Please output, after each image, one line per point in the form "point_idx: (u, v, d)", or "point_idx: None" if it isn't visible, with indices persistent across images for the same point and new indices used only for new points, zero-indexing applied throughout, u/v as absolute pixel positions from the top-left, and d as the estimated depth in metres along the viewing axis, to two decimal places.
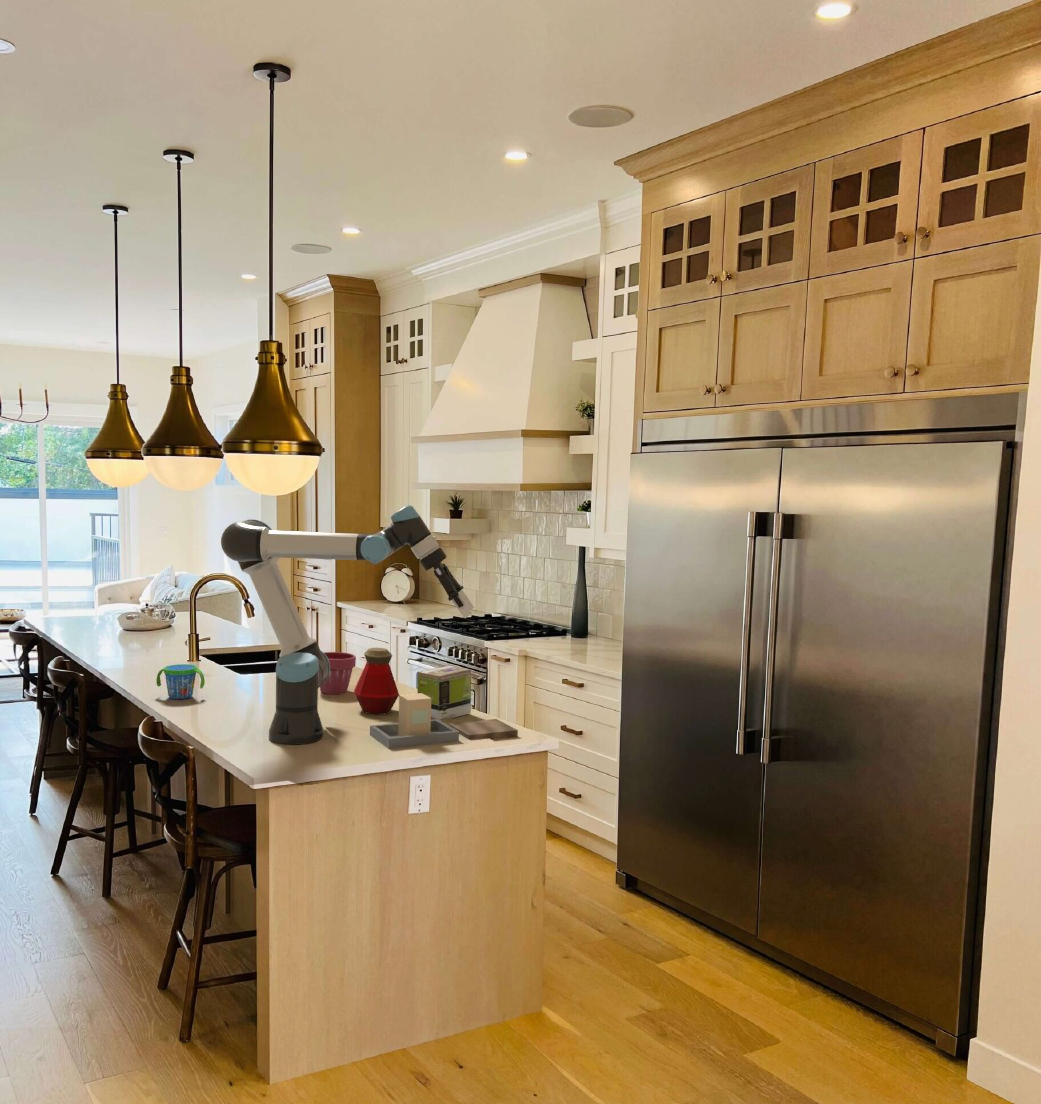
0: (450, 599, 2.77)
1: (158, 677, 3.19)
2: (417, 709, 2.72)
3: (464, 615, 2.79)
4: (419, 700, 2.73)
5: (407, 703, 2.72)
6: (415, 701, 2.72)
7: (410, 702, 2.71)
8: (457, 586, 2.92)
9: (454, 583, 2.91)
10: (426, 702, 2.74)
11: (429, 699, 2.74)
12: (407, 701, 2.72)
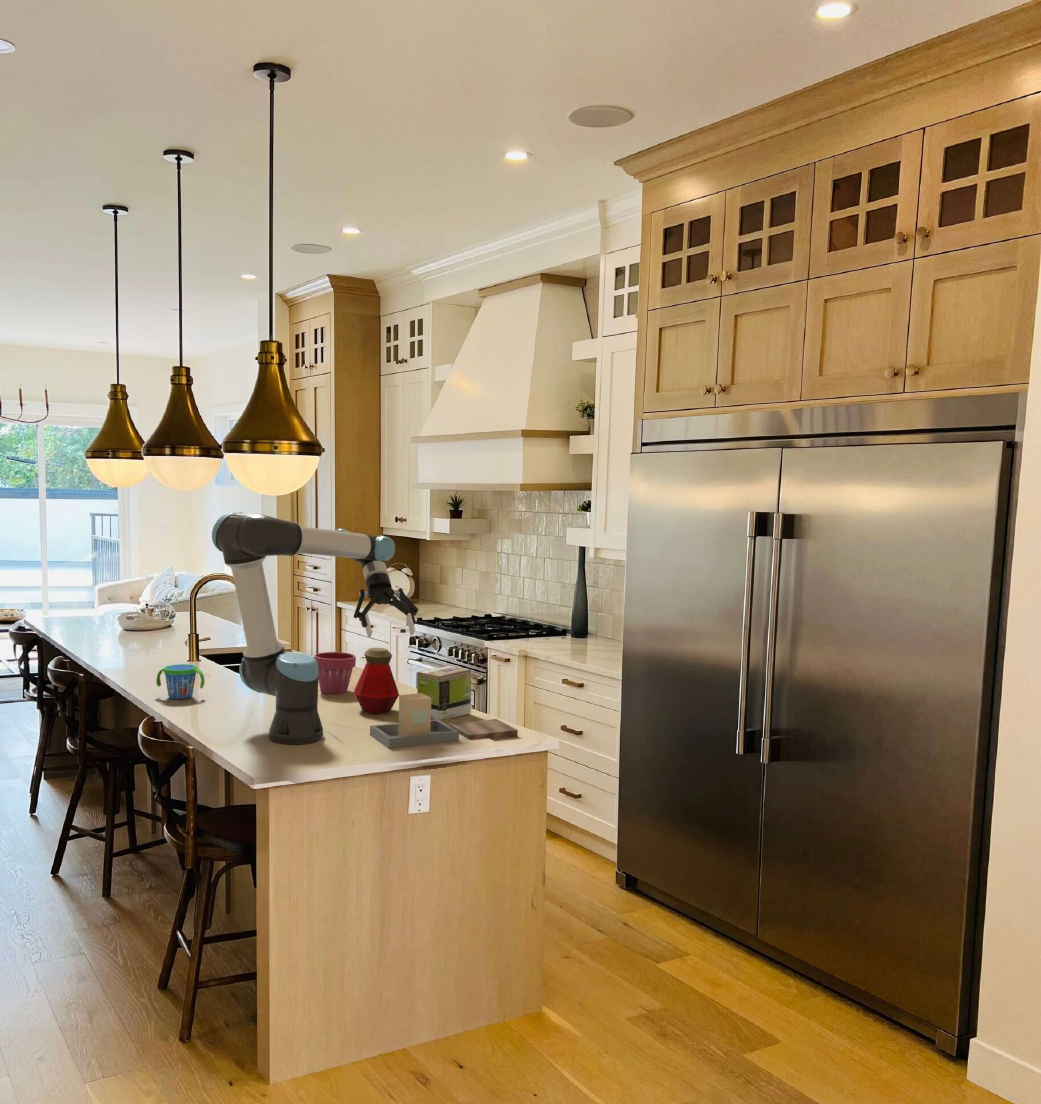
0: (413, 611, 2.99)
1: (158, 677, 3.19)
2: (417, 709, 2.72)
3: None
4: (419, 700, 2.73)
5: (407, 703, 2.72)
6: (415, 701, 2.72)
7: (410, 702, 2.71)
8: (366, 614, 2.94)
9: (368, 610, 2.96)
10: (426, 702, 2.74)
11: (429, 699, 2.74)
12: (407, 701, 2.72)
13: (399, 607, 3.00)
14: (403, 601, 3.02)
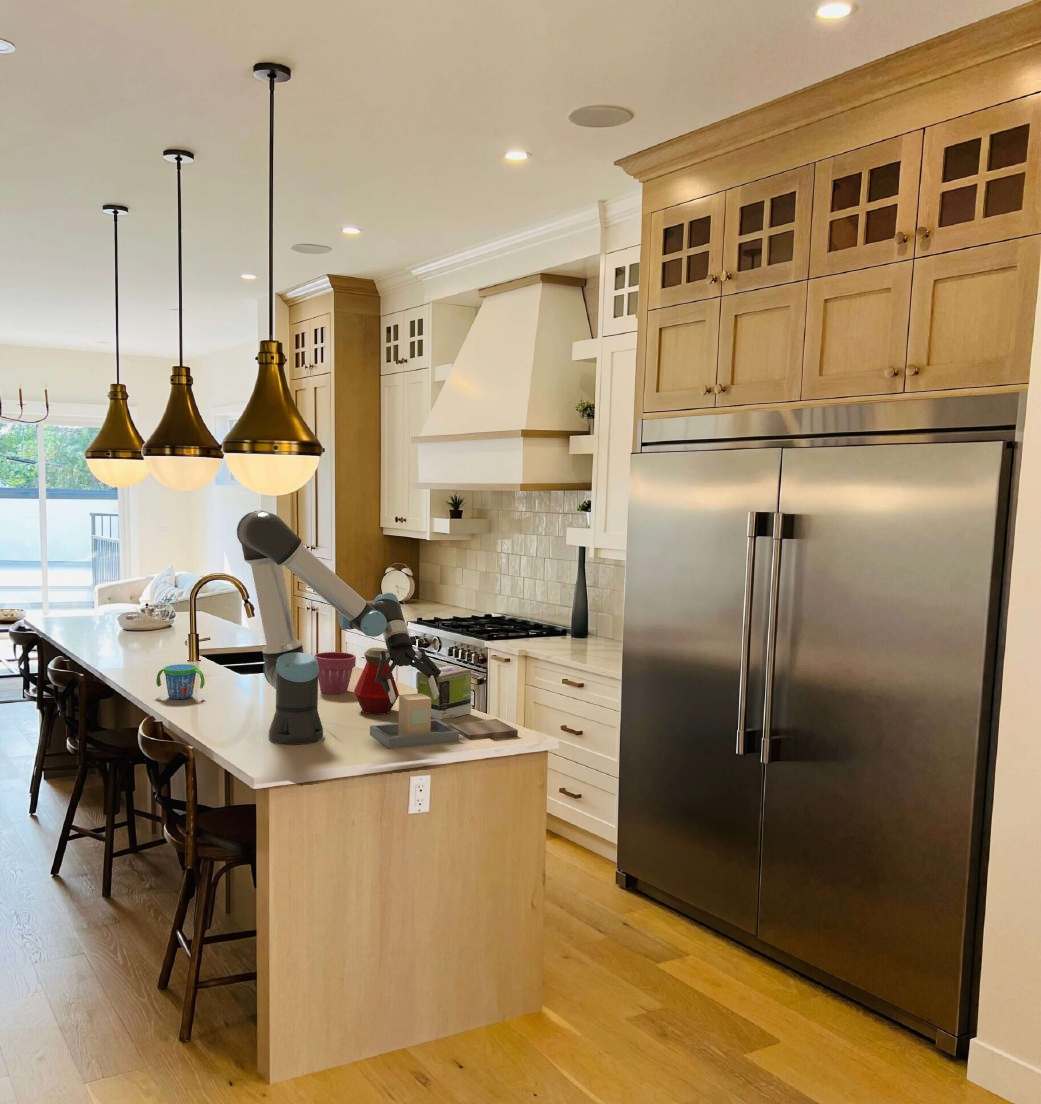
0: (436, 673, 2.88)
1: (158, 677, 3.19)
2: (417, 709, 2.72)
3: None
4: (419, 700, 2.73)
5: (407, 703, 2.72)
6: (415, 701, 2.72)
7: (410, 702, 2.71)
8: None
9: (390, 673, 2.85)
10: (426, 702, 2.74)
11: (429, 699, 2.74)
12: (407, 701, 2.72)
13: (421, 669, 2.89)
14: (425, 662, 2.92)
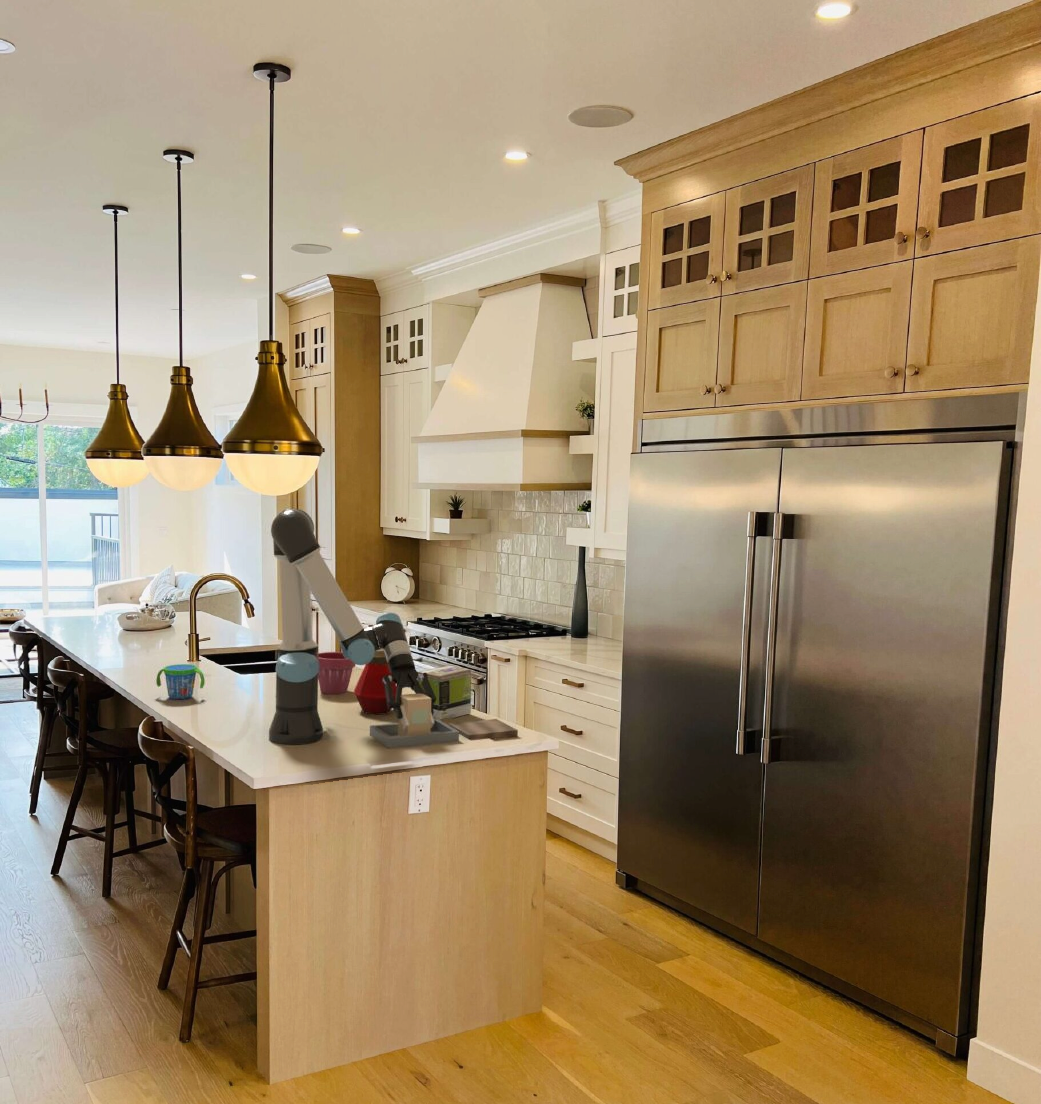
0: (431, 701, 2.78)
1: (158, 677, 3.19)
2: (417, 709, 2.72)
3: None
4: (419, 700, 2.73)
5: (407, 703, 2.72)
6: (415, 701, 2.72)
7: (410, 702, 2.71)
8: None
9: None
10: (426, 702, 2.74)
11: (429, 699, 2.74)
12: (407, 701, 2.72)
13: None
14: (424, 687, 2.83)
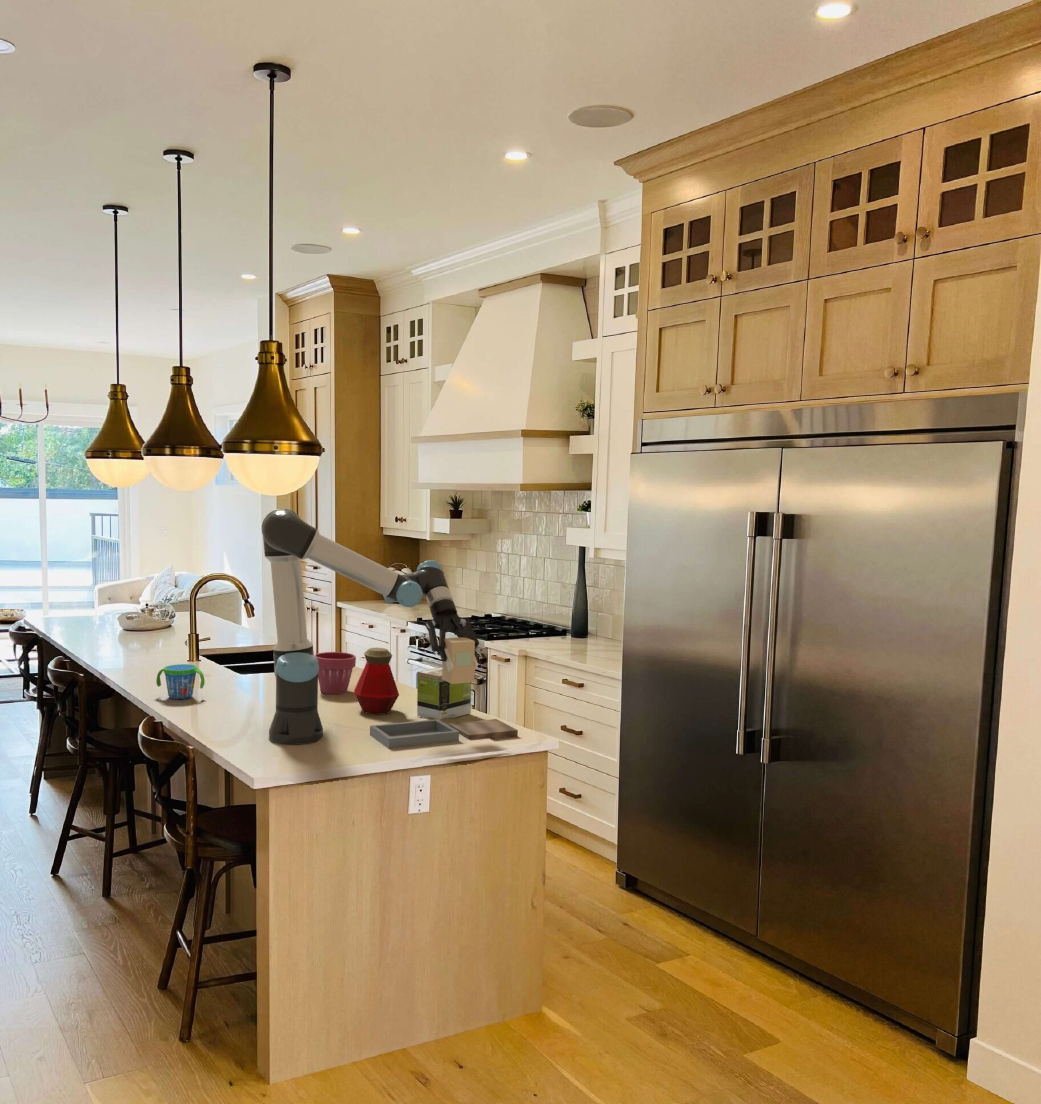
0: None
1: (158, 677, 3.19)
2: (461, 651, 2.77)
3: None
4: (463, 643, 2.77)
5: (451, 645, 2.76)
6: (459, 643, 2.76)
7: (454, 644, 2.76)
8: None
9: None
10: (470, 644, 2.78)
11: (472, 642, 2.78)
12: (451, 643, 2.76)
13: None
14: (467, 631, 2.87)
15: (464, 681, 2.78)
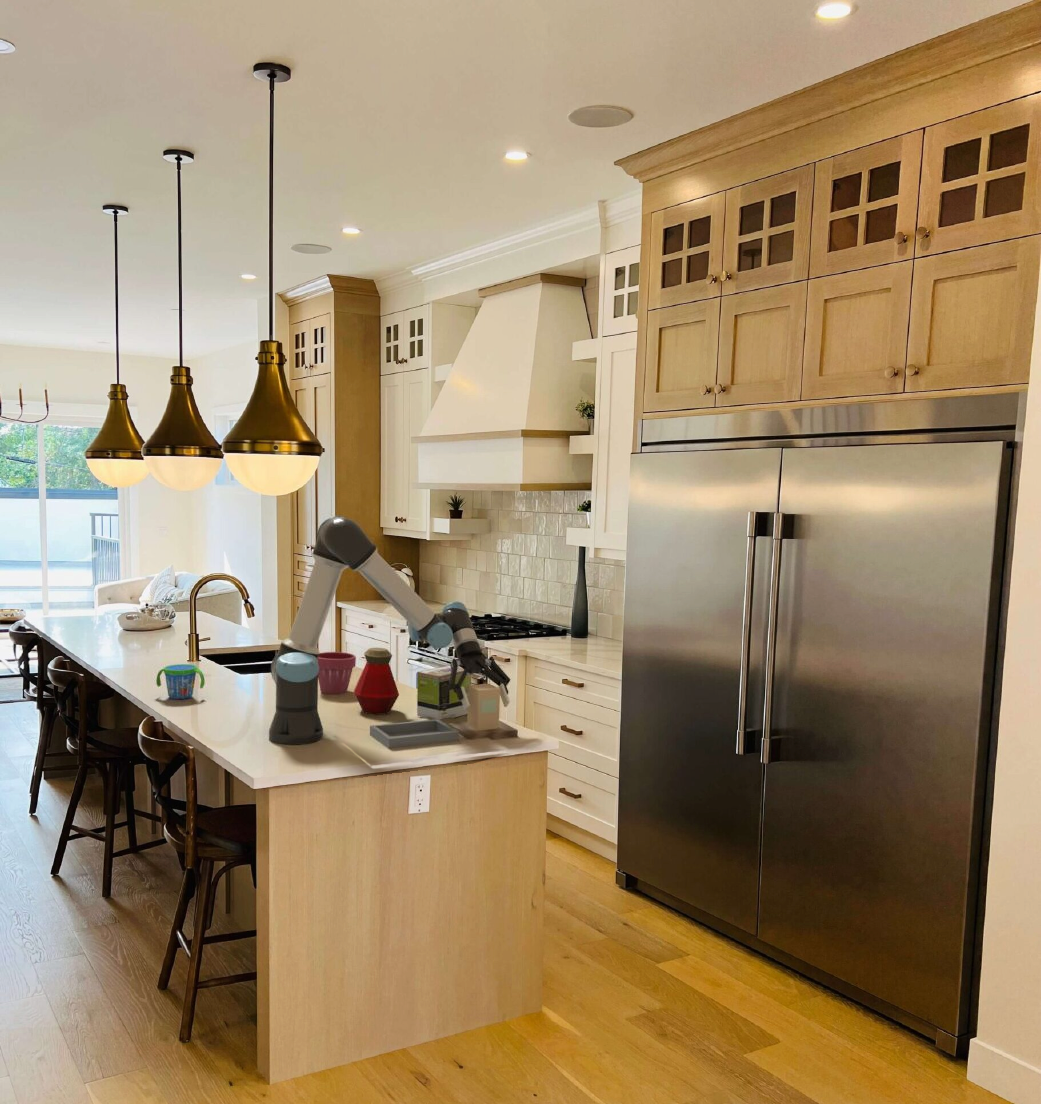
0: (506, 681, 2.91)
1: (158, 677, 3.19)
2: (487, 699, 2.83)
3: None
4: (489, 690, 2.83)
5: (477, 693, 2.82)
6: (485, 691, 2.82)
7: (480, 692, 2.82)
8: None
9: None
10: (495, 692, 2.84)
11: (498, 689, 2.85)
12: (477, 691, 2.82)
13: (491, 677, 2.92)
14: (494, 670, 2.95)
15: (489, 728, 2.84)
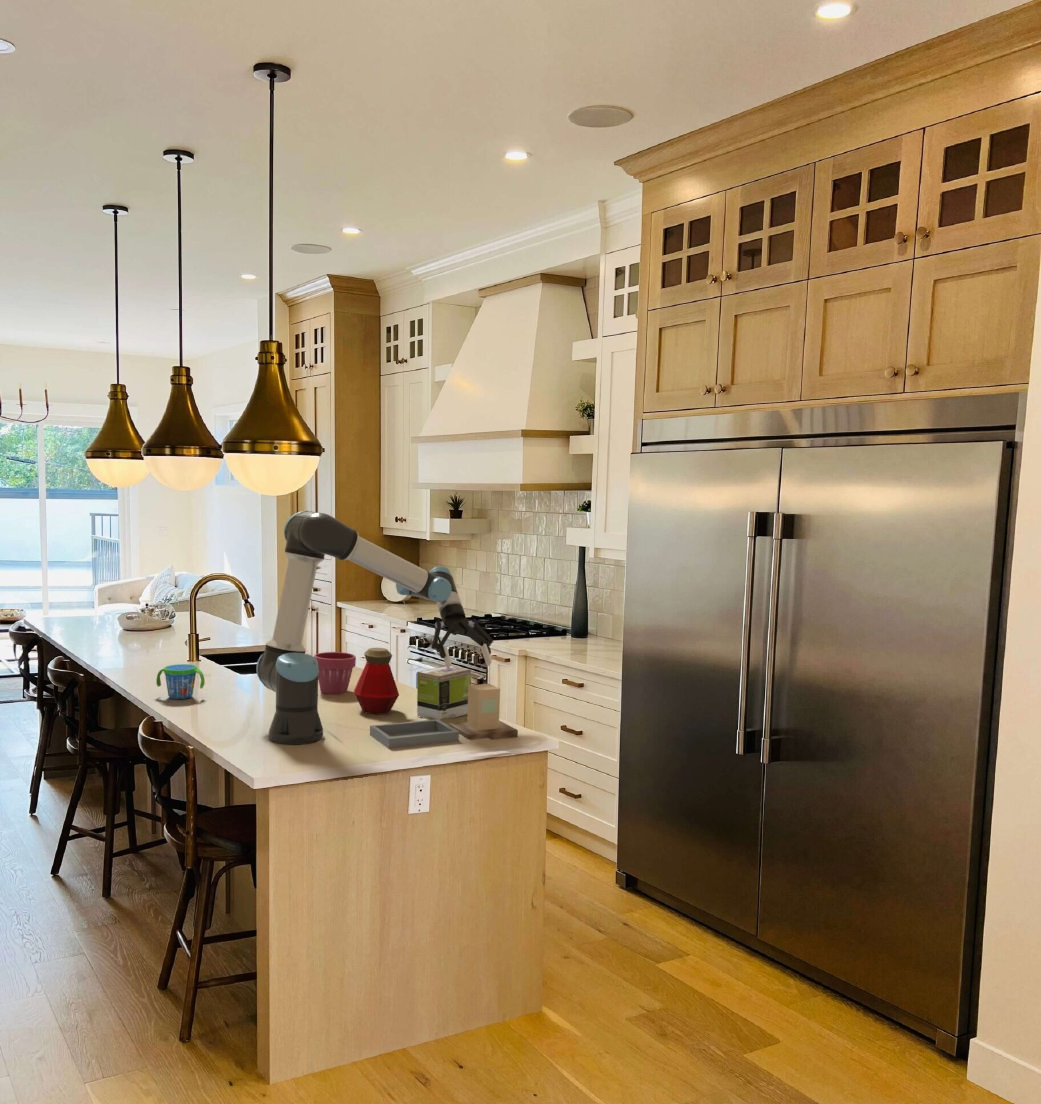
0: (488, 642, 3.02)
1: (158, 677, 3.19)
2: (487, 699, 2.83)
3: None
4: (489, 690, 2.83)
5: (477, 693, 2.82)
6: (485, 691, 2.82)
7: (480, 692, 2.82)
8: None
9: None
10: (495, 692, 2.84)
11: (498, 689, 2.85)
12: (477, 691, 2.82)
13: (474, 638, 3.03)
14: (477, 632, 3.05)
15: (489, 728, 2.84)
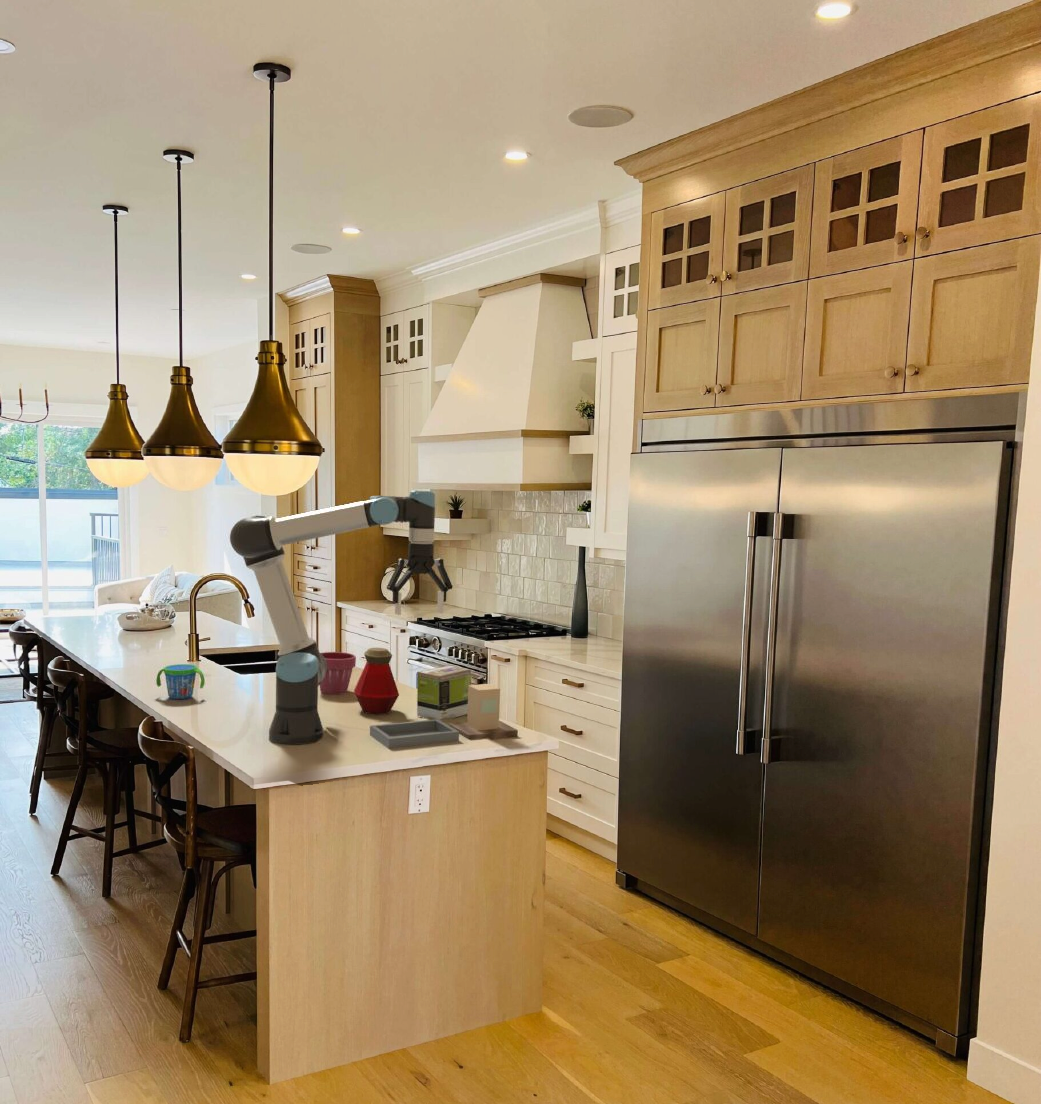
0: None
1: (158, 677, 3.19)
2: (487, 699, 2.83)
3: None
4: (489, 690, 2.83)
5: (477, 693, 2.82)
6: (485, 691, 2.82)
7: (480, 692, 2.82)
8: None
9: None
10: (495, 692, 2.84)
11: (498, 689, 2.85)
12: (477, 691, 2.82)
13: (434, 580, 2.90)
14: (440, 572, 2.91)
15: (489, 728, 2.84)
